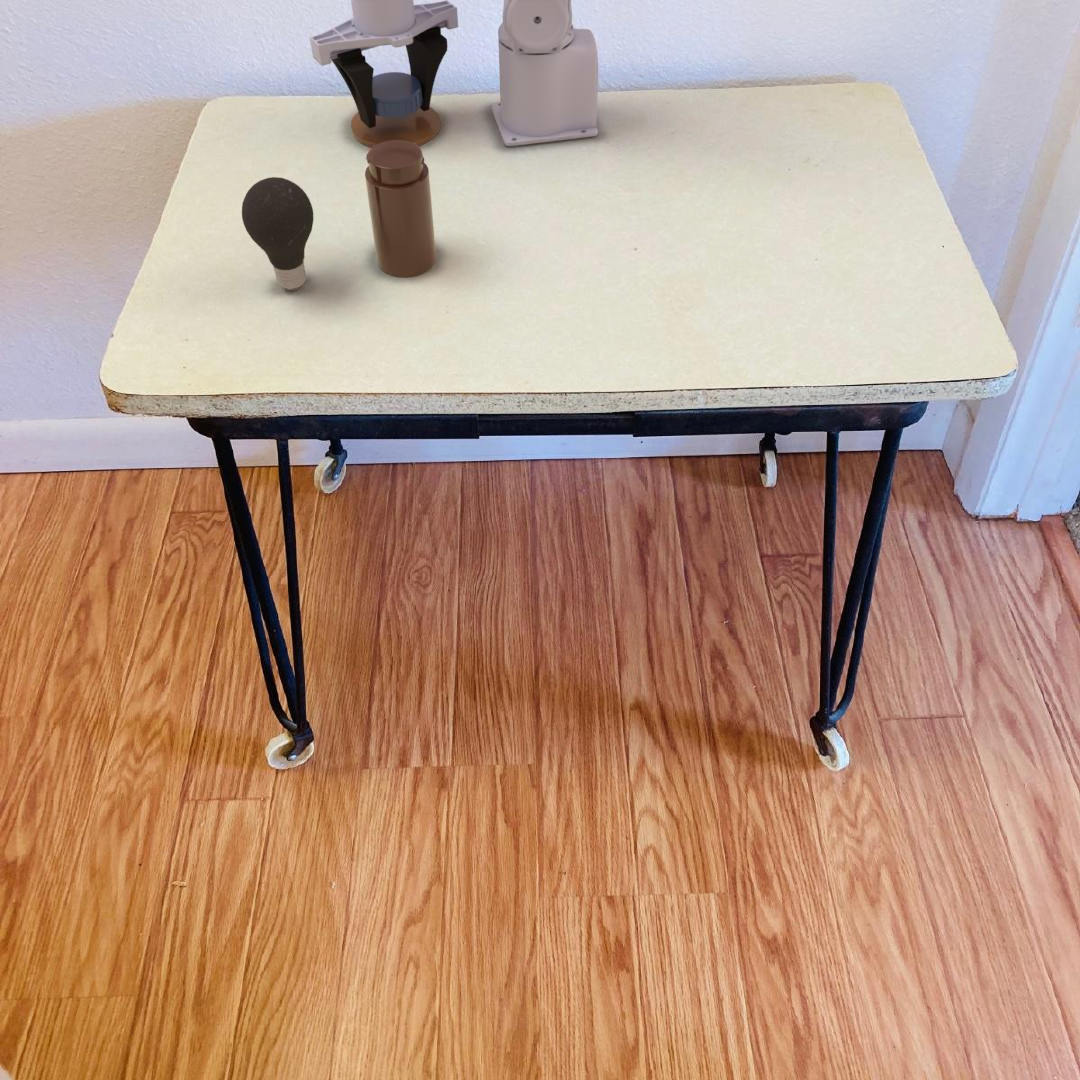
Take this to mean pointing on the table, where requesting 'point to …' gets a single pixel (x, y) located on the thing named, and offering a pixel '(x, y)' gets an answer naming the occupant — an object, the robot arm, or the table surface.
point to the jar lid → (396, 94)
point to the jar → (400, 208)
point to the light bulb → (280, 226)
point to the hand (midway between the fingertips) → (395, 114)
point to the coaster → (398, 128)
